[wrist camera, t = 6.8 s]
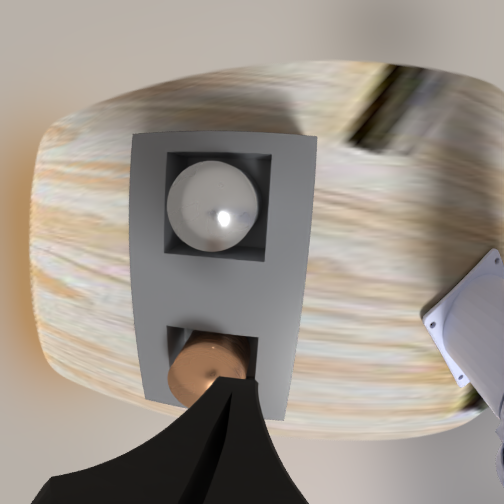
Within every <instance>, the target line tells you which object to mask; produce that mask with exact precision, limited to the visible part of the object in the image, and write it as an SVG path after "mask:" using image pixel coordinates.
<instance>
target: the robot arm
mask: <svg viewBox="0 0 504 504" xmlns="http://www.w3.org/2000/svg"><path fill="white" fill-rule="evenodd" d="M495 259H496V262H495ZM422 322H423V324H424V326H425V327H426V329H427V331H428V332H429V334H430V336H431V337H432V339H433V341H434V342H435V344H436V346H437V348H438V349H439V351H440V353H441V355H442V356H443V358H444V360H445V362H446V364H447V365H448V367H449V369H450V371H451V373H452V375H453V377H454V379H455V380H456V382H457V384H458V386H459V387H464V386H465V385H466V384H468V383H469V382H471V384H472V385H473V386H474V387H475V389H476V390H477V391H478V392H479V394H480V395H481V396H482V398H483V399H484V400H485V402H486V403H487V404H488V406H489V407H490V408H491V409H492V411H493V412H494V414H495V415H496V416H497V418H498V419H499V420H500V423H499V426H498V428H497V429H496V431H495V432H496V433H497V435H498V436H499V438H500V439H501V441H502V444H501V445H500V447H499V450H498V452H497V456H496V469H497V474H498V477H499V479H500V482H501V484H502V485H503V487H504V264H503V262H502V259H501V257H500V254H499V252H498V250H497V249H494V248H492V249H491V250H490V251H489V252H488V253H487V254H486V255H485V256H484V257H483V258H482V260H481V261H480V262H479V263H478V264H477V265H476V266H475V267H474V268H473V269H472V270H471V271H470V272H469V273H468V274H467V275H466V276H465V277H464V278H463V279H462V280H461V281H460V282H459V283H458V284H457V285H456V286H455V287H454V288H453V289H452V290H451V291H450V292H449V293H448V294H447V295H446V296H445V297H444V298H443V299H442V300H440V301H439V302H438V303H437V304H436V305H435V306H434V307H433V308H432V309H431V310H429V311H428V312H427V313H426V314H425V315H424V316H423V319H422ZM432 322H434V323H433V325H432V326H430V324H431V323H432ZM460 375H461V376H460ZM459 376H460V377H459ZM258 385H259V383H258V382H257V381H256V380H249V379H240V378H231V377H223V376H219V377H217V378H216V379H215V381H214V382H213V383H212V384H211V385H210V387H209V388H208V389H207V390H206V391H205V392H204V393H203V395H202V396H201V397H200V398H199V399H198V400H197V401H196V402H195V403H194V404H193V405H192V406H191V407H190V408H189V409H188V410H187V411H186V412H185V413H183V414H182V415H181V416H180V417H179V418H178V419H176V420H175V421H174V422H173V423H172V424H170V425H169V426H168V427H167V428H165V429H164V430H163V431H161V432H160V433H159V434H157V435H156V436H154V437H153V438H151V439H150V440H148V441H147V442H145V443H143V444H142V445H140V446H138V447H136V448H135V449H133V450H131V451H129V452H127V453H125V454H123V455H121V456H119V457H117V458H114V459H112V460H109V461H107V462H104V463H102V464H99V465H97V466H94V467H91V468H88V469H84V470H81V471H77V472H72V473H69V474H64V475H59V476H53V477H51V478H50V479H49V480H48V481H47V482H46V483H45V485H44V486H43V487H42V489H41V490H40V491H39V493H38V494H37V496H36V497H35V499H34V500H33V501H32V503H31V504H309V503H308V502H307V501H306V499H305V498H304V496H303V495H302V494H301V492H300V491H299V489H298V488H297V487H296V485H295V484H294V482H293V481H292V479H291V478H290V476H289V474H288V473H287V471H286V469H285V467H284V466H283V464H282V462H281V460H280V458H279V456H278V454H277V452H276V450H275V447H274V445H273V443H272V440H271V438H270V435H269V433H268V430H267V427H266V424H265V421H264V417H263V414H262V410H261V406H260V401H259V394H258Z"/></svg>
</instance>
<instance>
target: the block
mask: <svg viewBox="0 0 504 504" xmlns="http://www.w3.org/2000/svg"><path fill="white" fill-rule="evenodd" d="M316 152H317V137H316V136H306V135H295V134H282V133H267V132H244V131H177V132H155V133H139V134H133V138H132V151H131V167H130V190H129V251H130V274H131V290H132V303H133V314H134V324H135V333H136V342H137V350H138V357H139V364H140V370H141V377H142V383H143V389H144V394H145V399H147V400H151V401H155V402H159V403H164V404H168V405H173V406H178V407H182V408H187V407H186V406H184V405H183V404H182V403H180V402H179V401H178V400H177V399H176V398H175V397H174V395H173V394H172V392H171V390H170V388H169V385H168V379H167V377H168V372H169V369H170V368H171V366H172V364H173V363H174V361H175V359H176V358H177V356H178V354H179V353H180V351H181V349H182V348H183V346H184V344H185V343H186V341H187V340H188V338H189V336H190V335H191V333H192V332H193V330H201V331H208V332H216V333H224V334H232V335H241V336H246V338H247V340H248V342H249V344H250V349H251V354H250V360H249V365H248V370H247V375H246V379H249V380H256V381H257V382H258V383H259V385H258V394H259V401H260V406H261V410H262V414H263V417H264V419H267V420H280V421H284V417H285V412H286V407H287V401H288V395H289V390H290V384H291V378H292V372H293V366H294V360H295V353H296V347H297V340H298V333H299V326H300V319H301V311H302V304H303V296H304V288H305V279H306V271H307V262H308V252H309V242H310V232H311V221H312V210H313V197H314V184H315V169H316ZM204 161H219V162H223V163H226V164H229V165H231V166H234V167H236V168H238V169H241V170H243V171H245V172H246V173H248V174H249V175H250V176H251V177H252V178H253V179H254V180H255V181H256V183H257V185H258V187H259V189H260V192H261V197H262V207H261V212H260V215H259V217H258V219H257V221H256V222H255V223H254V225H253V226H252V227H251V229H250V230H249V231H248V233H247V234H246V235H245V237H244V238H243V239H242V240H241V241H240V242H238V243H237V244H236V245H234V246H232V247H230V248H228V249H225V250H221V251H215V252H207V251H202V250H198V249H195V248H193V247H191V246H189V245H188V244H186V243H185V242H184V241H182V240H181V239H180V238H179V237H178V235H177V234H176V233H175V231H174V230H173V228H172V226H171V224H170V221H169V217H168V212H167V199H168V195H169V191H170V188H171V186H172V184H173V182H174V181H175V179H176V178H177V177H178V176H179V175H180V173H182V172H183V171H184V170H185V169H187V168H188V167H190V166H192V165H194V164H196V163H199V162H204ZM188 409H189V408H188Z"/></svg>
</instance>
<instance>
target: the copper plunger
mask: <svg viewBox="0 0 504 504" xmlns="http://www.w3.org/2000/svg"><path fill="white" fill-rule="evenodd" d="M250 354H251V349H250V344H249V342H248V340H247V338H246V336H241V335H232V334H224V333H216V332H208V331H201V330H193V332H192V333H191V335H190V336H189V338H188V340H187V341H186V343H185V344H184V346H183V348H182V349H181V351H180V353H179V354H178V356H177V358H176V359H175V361H174V363H173V364H172V366H171V368H170V369H169V372H168V377H167V379H168V385H169V388H170V390H171V392H172V394H173V395H174V397H175V398H176V399H177V400H178V401H179V402H180V403H182V404H183V405H184V406H186V407H187V408H190V407H191V406H192V405H193V404H194V403H195V402H196V401H197V400H198V399H199V398H200V397H201V396H202V395H203V393H204V392H205V391H206V390H207V389H208V388H209V387H210V385H211V384H212V383H213V382H214V381H215V379H216V378H217V377H219V376H223V377H231V378H240V379H246V375H247V370H248V365H249V360H250Z"/></svg>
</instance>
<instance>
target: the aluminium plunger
mask: <svg viewBox="0 0 504 504" xmlns="http://www.w3.org/2000/svg"><path fill="white" fill-rule="evenodd" d="M261 207H262V197H261V192H260V189H259V187H258V185H257V183H256V181H255V180H254V179H253V178H252V177H251V176H250V175H249V174H248V173H246V172H245V171H243V170H241V169H238V168H236V167H234V166H231V165H229V164H226V163H223V162H219V161H204V162H199V163H196V164H194V165H192V166H190V167H188V168H187V169H185V170H184V171H183V172H182V173H180V175H179V176H178V177H177V178H176V179H175V181H174V182H173V184H172V186H171V188H170V191H169V195H168V199H167V212H168V217H169V221H170V224H171V226H172V228H173V230H174V231H175V233H176V234H177V235H178V237H179V238H180V239H181V240H182V241H184V242H185V243H186V244H188V245H189V246H191V247H193V248H195V249H198V250H202V251H207V252H215V251H221V250H225V249H228V248H230V247H232V246H234V245H236V244H237V243H238V242H240V241H241V240H242V239H243V238H244V237H245V235H246V234H247V233H248V231H249V230H250V229H251V227H252V226H253V225H254V223H255V222H256V221H257V219H258V217H259V215H260V212H261Z"/></svg>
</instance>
